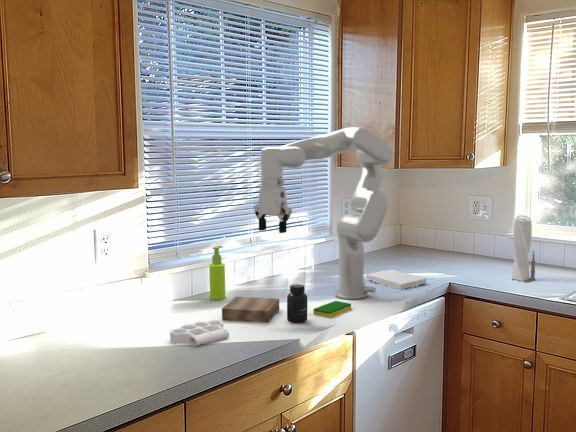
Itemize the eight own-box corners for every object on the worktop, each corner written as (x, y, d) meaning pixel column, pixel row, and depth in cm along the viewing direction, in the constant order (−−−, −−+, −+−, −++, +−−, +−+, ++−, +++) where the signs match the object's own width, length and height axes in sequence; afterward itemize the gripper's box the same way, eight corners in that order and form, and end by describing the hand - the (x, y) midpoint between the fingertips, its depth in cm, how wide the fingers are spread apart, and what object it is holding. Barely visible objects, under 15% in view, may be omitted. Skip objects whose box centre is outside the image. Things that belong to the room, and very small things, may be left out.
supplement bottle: (305, 324, 197) (305, 288, 195) (285, 323, 198) (284, 287, 196) (309, 318, 203) (308, 283, 202) (289, 317, 205) (289, 282, 203)
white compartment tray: (187, 351, 174) (162, 339, 185) (238, 337, 185) (211, 327, 196) (186, 339, 173) (162, 328, 184) (237, 327, 185) (211, 317, 196)
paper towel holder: (525, 283, 250) (528, 216, 246) (507, 280, 256) (509, 214, 252) (535, 280, 255) (538, 214, 252) (517, 276, 261) (519, 213, 258)
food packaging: (426, 286, 250) (391, 276, 266) (426, 278, 249) (391, 269, 265) (400, 292, 241) (366, 282, 257) (401, 284, 240) (366, 274, 256)
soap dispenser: (229, 296, 234) (227, 245, 231) (221, 300, 227) (220, 248, 225) (215, 294, 236) (214, 244, 233) (207, 299, 229) (206, 247, 227)
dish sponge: (312, 315, 208) (312, 308, 208) (335, 306, 219) (335, 300, 218) (329, 319, 203) (329, 312, 203) (351, 310, 214) (352, 303, 214)
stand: (279, 309, 214) (279, 298, 214) (268, 322, 199) (268, 311, 198) (236, 307, 218) (236, 296, 217) (222, 320, 202) (221, 308, 202)
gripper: (297, 183, 207) (298, 232, 209) (261, 181, 218) (262, 228, 220) (283, 184, 202) (283, 234, 204) (246, 182, 213) (247, 230, 215)
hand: (272, 231), depth 212 cm, fingers open, 9 cm apart
